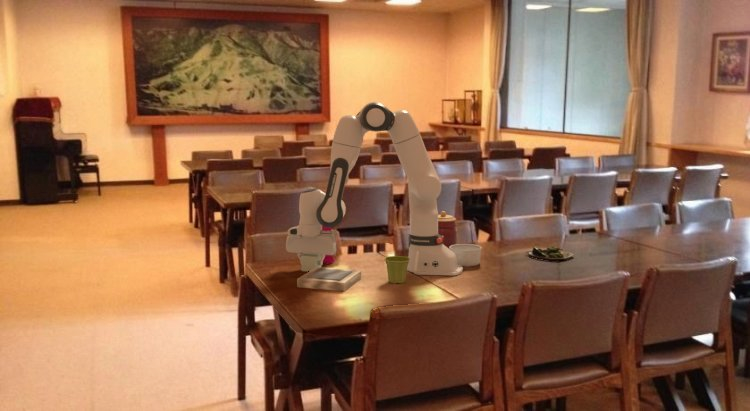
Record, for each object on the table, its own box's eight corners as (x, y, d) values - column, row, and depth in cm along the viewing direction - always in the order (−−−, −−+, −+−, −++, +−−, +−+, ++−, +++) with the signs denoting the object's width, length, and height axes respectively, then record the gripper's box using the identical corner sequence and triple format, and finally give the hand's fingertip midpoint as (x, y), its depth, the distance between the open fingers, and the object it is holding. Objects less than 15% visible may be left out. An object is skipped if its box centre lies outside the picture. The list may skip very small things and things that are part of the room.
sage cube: (321, 268, 269) (321, 253, 268) (315, 272, 263) (315, 257, 262) (307, 267, 270) (307, 252, 269) (301, 270, 265) (301, 256, 264)
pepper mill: (336, 260, 283) (336, 213, 280) (334, 264, 276) (333, 215, 273) (319, 259, 283) (319, 212, 280) (316, 263, 276) (315, 215, 273)
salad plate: (545, 250, 303) (546, 240, 303) (581, 256, 291) (582, 246, 290) (520, 257, 290) (521, 246, 290) (557, 264, 277) (557, 253, 277)
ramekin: (444, 265, 275) (444, 248, 274) (455, 258, 286) (456, 242, 285) (475, 268, 269) (475, 251, 268) (485, 261, 280) (486, 245, 279)
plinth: (361, 278, 253) (360, 270, 253) (344, 291, 236) (344, 282, 236) (316, 274, 259) (316, 266, 258) (297, 287, 242) (297, 278, 241)
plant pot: (394, 277, 256) (394, 254, 254) (414, 281, 250) (415, 258, 248) (379, 282, 248) (379, 259, 247) (399, 286, 243) (399, 262, 241)
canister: (422, 248, 305) (423, 209, 303) (447, 246, 311) (448, 208, 308) (437, 254, 294) (438, 214, 291) (462, 251, 299) (463, 212, 297)
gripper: (338, 230, 264) (338, 264, 266) (290, 227, 270) (291, 260, 272) (332, 232, 258) (333, 268, 260) (283, 229, 264) (284, 264, 266)
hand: (311, 264), depth 266 cm, fingers closed on sage cube, 6 cm apart
